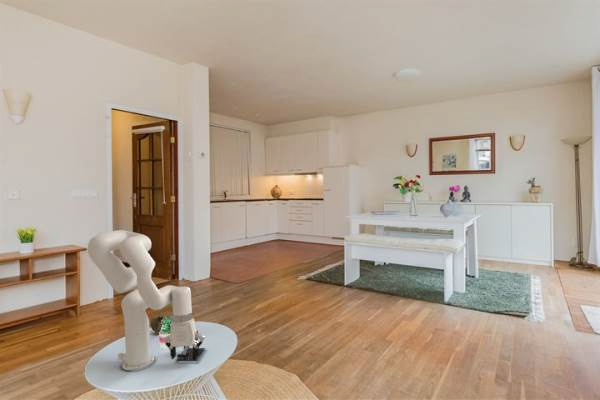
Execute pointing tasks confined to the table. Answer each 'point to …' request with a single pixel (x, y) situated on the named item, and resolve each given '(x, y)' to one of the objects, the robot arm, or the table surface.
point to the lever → (184, 353)
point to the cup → (156, 324)
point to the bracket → (191, 354)
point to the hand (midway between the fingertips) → (185, 357)
